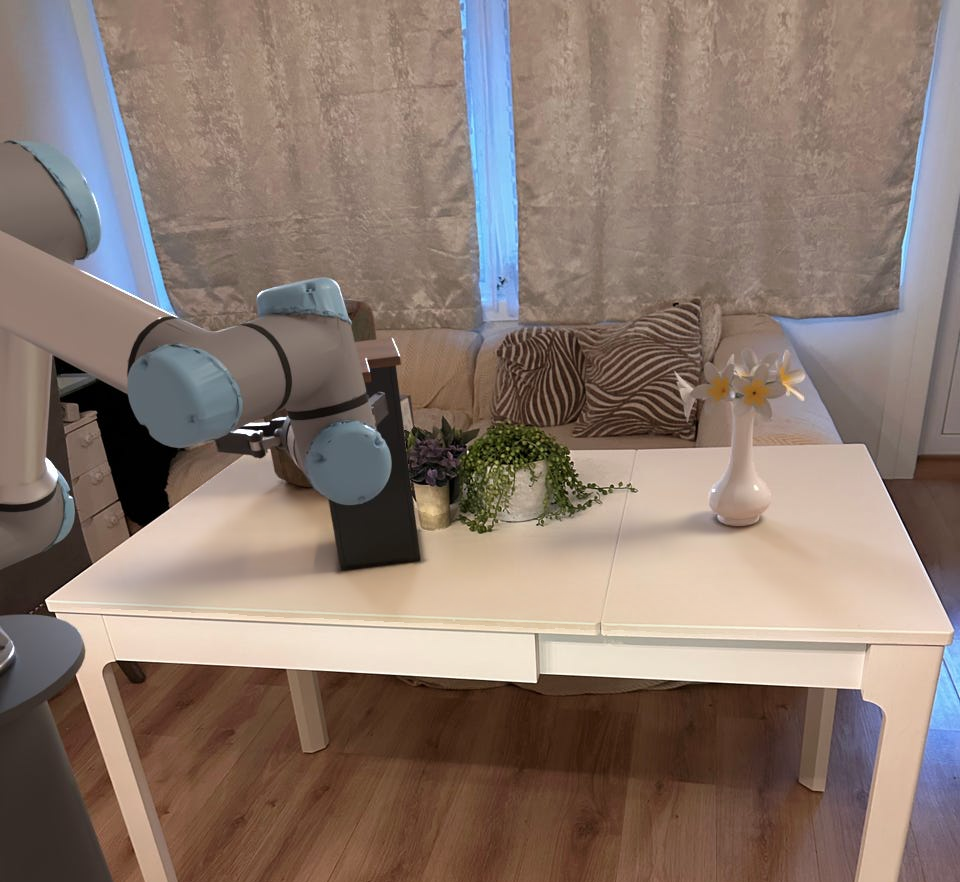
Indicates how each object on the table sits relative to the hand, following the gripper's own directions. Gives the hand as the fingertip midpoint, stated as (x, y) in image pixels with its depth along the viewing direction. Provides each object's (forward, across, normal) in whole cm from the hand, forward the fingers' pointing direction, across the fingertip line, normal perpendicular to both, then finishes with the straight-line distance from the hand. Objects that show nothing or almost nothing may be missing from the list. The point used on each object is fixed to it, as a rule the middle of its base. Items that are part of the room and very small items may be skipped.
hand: (292, 412), depth 116 cm
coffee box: (+46, +20, -24) cm, 56 cm away
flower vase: (+2, +62, -30) cm, 69 cm away
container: (+61, +13, -22) cm, 67 cm away
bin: (+19, +10, -26) cm, 34 cm away
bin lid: (+13, +11, +1) cm, 17 cm away
